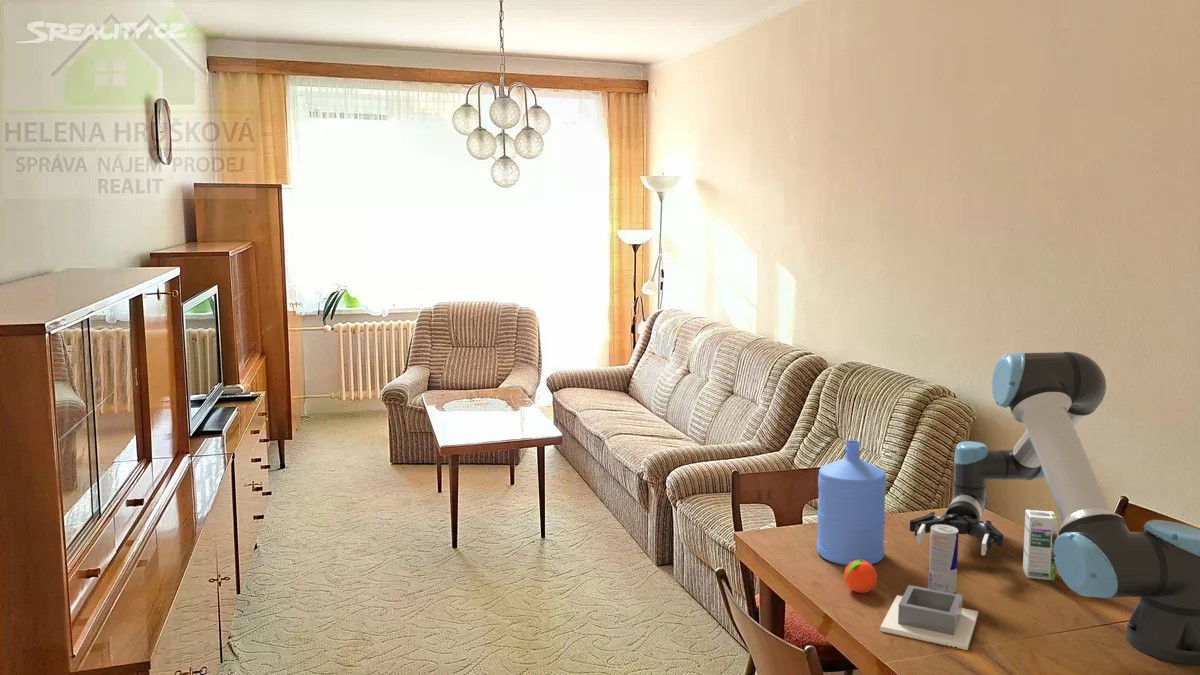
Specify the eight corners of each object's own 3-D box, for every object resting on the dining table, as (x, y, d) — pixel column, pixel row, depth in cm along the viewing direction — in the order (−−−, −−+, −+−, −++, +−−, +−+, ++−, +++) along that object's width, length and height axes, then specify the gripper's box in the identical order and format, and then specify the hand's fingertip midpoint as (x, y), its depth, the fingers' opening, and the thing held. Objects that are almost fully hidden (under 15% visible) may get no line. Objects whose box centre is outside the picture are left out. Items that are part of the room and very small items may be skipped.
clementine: (858, 602, 183) (859, 570, 182) (833, 590, 189) (834, 559, 188) (883, 593, 187) (884, 561, 186) (858, 582, 193) (858, 551, 192)
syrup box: (1026, 578, 193) (1030, 516, 191) (1022, 568, 199) (1025, 508, 197) (1054, 581, 192) (1058, 518, 190) (1049, 571, 197) (1053, 510, 195)
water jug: (874, 572, 198) (878, 454, 194) (807, 559, 206) (810, 445, 202) (890, 549, 211) (894, 438, 207) (827, 538, 219) (829, 431, 215)
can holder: (978, 615, 176) (979, 592, 175) (967, 650, 162) (968, 625, 161) (896, 599, 184) (897, 577, 183) (880, 631, 170) (881, 607, 169)
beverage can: (958, 601, 183) (961, 533, 181) (930, 599, 184) (933, 532, 182) (953, 590, 188) (955, 524, 186) (926, 588, 189) (928, 522, 187)
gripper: (1018, 538, 206) (1010, 570, 187) (909, 521, 218) (892, 550, 200) (1020, 508, 205) (1012, 537, 186) (910, 492, 217) (893, 518, 199)
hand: (950, 544), depth 193 cm, fingers open, 13 cm apart
